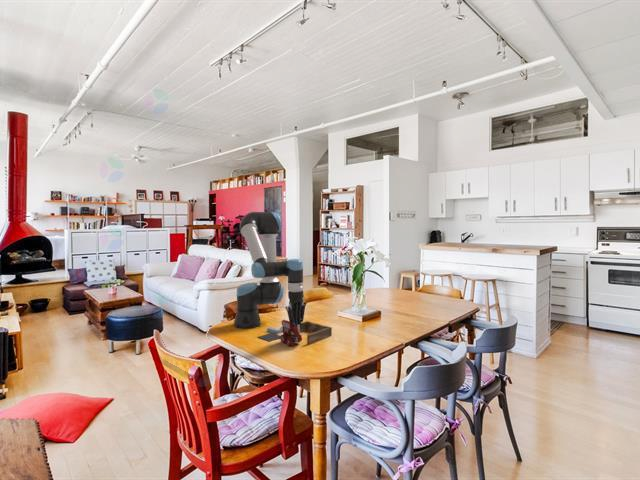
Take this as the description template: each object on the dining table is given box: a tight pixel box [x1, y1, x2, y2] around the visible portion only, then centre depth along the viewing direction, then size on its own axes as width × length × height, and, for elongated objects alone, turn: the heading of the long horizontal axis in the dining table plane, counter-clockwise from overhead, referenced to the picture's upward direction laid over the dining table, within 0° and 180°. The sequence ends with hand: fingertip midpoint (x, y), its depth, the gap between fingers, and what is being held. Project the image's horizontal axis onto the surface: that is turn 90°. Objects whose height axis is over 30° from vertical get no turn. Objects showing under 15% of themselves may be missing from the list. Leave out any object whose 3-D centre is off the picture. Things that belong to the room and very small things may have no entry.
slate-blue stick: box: [266, 326, 281, 335], centre depth 193 cm, size 8×2×2 cm, turn 48°
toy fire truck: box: [279, 319, 303, 347], centre depth 175 cm, size 7×12×10 cm, turn 41°
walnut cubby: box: [300, 320, 333, 345], centre depth 186 cm, size 17×17×4 cm
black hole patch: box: [257, 332, 281, 342], centre depth 184 cm, size 9×9×1 cm
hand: (297, 337), depth 179 cm, fingers closed
